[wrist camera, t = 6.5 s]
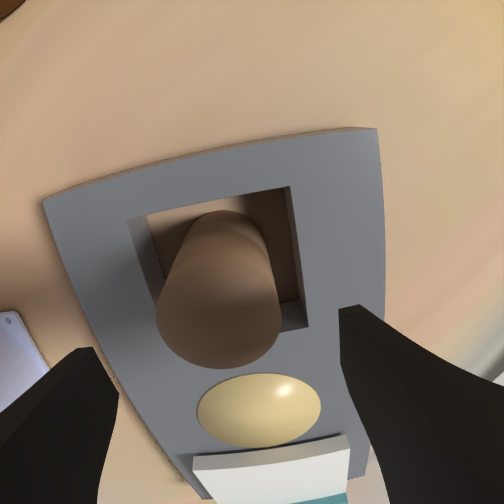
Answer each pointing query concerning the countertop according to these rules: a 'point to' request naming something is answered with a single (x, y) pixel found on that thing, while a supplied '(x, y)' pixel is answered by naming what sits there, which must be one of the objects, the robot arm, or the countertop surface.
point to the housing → (293, 313)
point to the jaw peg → (220, 294)
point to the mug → (8, 6)
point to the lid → (279, 474)
